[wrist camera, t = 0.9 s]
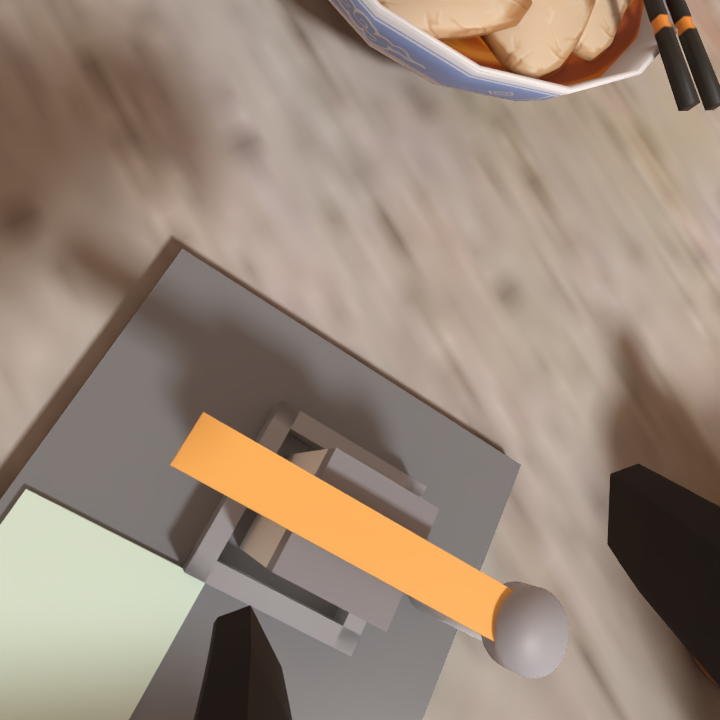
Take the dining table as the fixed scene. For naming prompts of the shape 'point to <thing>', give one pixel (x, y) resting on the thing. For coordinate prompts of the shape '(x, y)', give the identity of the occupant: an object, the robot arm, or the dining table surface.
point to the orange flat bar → (380, 547)
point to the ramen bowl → (537, 44)
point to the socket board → (217, 520)
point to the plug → (322, 567)
